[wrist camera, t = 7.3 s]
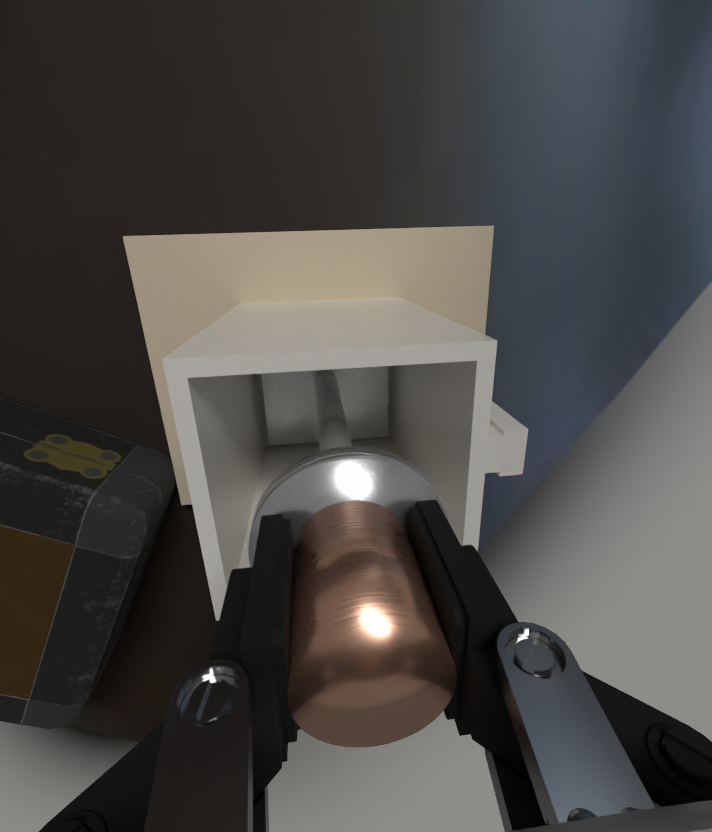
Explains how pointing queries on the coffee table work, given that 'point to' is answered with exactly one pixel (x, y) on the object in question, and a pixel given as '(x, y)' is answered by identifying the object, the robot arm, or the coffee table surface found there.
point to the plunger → (353, 564)
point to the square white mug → (320, 361)
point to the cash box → (69, 556)
